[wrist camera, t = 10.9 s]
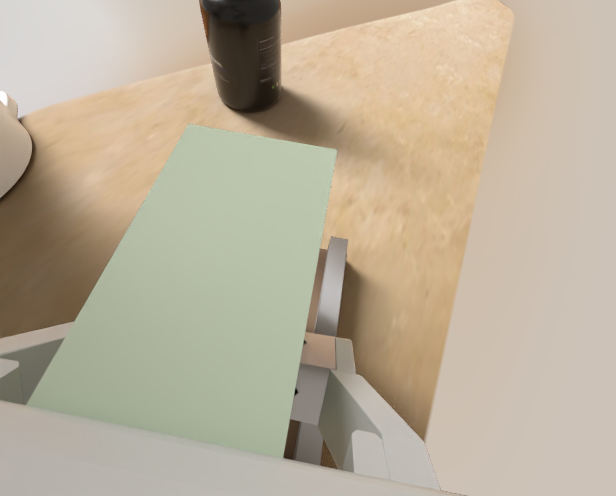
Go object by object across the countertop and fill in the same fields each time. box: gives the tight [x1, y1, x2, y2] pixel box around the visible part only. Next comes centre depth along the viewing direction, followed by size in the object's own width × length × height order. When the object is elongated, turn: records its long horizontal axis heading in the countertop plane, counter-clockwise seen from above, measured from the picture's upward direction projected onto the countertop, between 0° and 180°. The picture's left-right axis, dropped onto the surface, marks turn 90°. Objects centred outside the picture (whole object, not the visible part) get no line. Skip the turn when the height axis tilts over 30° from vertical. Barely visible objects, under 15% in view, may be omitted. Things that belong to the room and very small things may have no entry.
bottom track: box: [283, 236, 348, 466], centre depth 16 cm, size 16×9×6 cm, turn 170°
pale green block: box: [26, 124, 337, 458], centre depth 10 cm, size 7×4×10 cm, turn 170°
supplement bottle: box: [199, 0, 281, 112], centre depth 26 cm, size 7×7×12 cm
